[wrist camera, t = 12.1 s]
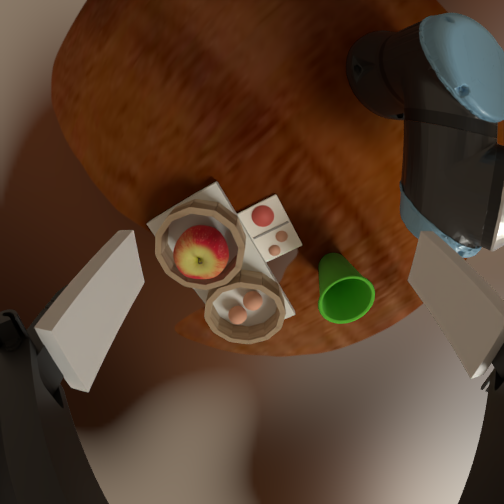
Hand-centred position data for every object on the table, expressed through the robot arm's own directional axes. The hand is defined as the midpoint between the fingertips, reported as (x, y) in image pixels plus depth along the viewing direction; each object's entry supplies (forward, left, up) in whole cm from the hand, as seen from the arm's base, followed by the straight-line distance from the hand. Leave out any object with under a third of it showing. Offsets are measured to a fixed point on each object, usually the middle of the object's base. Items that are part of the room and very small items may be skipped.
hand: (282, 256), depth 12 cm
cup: (+7, +22, -33) cm, 40 cm away
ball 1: (+25, +15, -31) cm, 43 cm away
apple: (+17, +2, -32) cm, 36 cm away
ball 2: (+21, +15, -31) cm, 40 cm away
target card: (+9, +9, -33) cm, 35 cm away
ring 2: (+23, +15, -31) cm, 41 cm away
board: (+20, +8, -33) cm, 39 cm away
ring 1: (+17, +1, -31) cm, 36 cm away
